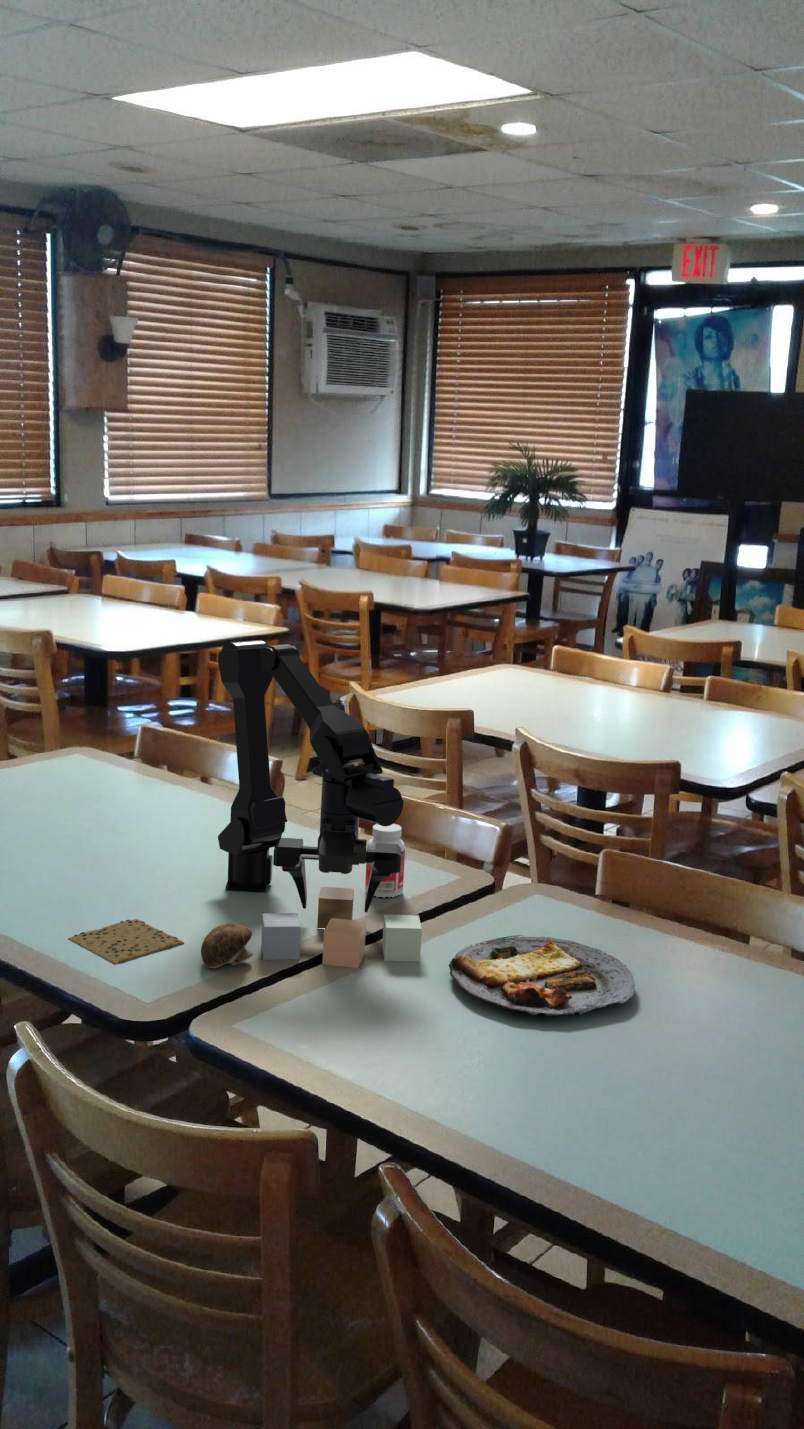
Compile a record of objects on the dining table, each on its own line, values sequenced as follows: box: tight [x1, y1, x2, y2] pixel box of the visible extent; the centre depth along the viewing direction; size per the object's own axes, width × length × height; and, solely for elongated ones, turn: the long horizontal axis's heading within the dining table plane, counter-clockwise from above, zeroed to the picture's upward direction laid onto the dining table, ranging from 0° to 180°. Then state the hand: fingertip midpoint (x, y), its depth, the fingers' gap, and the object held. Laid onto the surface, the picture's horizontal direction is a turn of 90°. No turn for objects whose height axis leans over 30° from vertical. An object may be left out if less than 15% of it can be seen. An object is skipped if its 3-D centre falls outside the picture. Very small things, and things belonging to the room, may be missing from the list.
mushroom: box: [200, 922, 254, 969], centre depth 172 cm, size 8×8×6 cm
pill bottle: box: [364, 823, 406, 899], centre depth 203 cm, size 6×6×11 cm
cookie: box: [67, 918, 185, 965], centre depth 179 cm, size 12×12×1 cm
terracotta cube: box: [321, 918, 367, 969], centre depth 176 cm, size 5×5×5 cm
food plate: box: [448, 935, 636, 1017], centre depth 172 cm, size 25×23×4 cm
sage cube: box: [381, 914, 423, 963], centre depth 179 cm, size 5×5×5 cm
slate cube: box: [260, 912, 302, 961], centre depth 177 cm, size 5×5×5 cm
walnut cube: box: [316, 886, 355, 929], centre depth 189 cm, size 5×5×5 cm
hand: (335, 909), depth 189 cm, fingers open, 9 cm apart
